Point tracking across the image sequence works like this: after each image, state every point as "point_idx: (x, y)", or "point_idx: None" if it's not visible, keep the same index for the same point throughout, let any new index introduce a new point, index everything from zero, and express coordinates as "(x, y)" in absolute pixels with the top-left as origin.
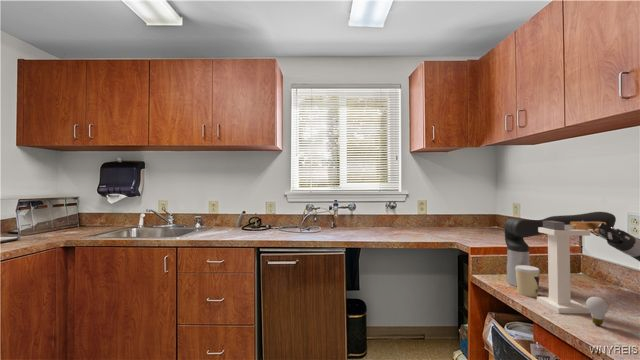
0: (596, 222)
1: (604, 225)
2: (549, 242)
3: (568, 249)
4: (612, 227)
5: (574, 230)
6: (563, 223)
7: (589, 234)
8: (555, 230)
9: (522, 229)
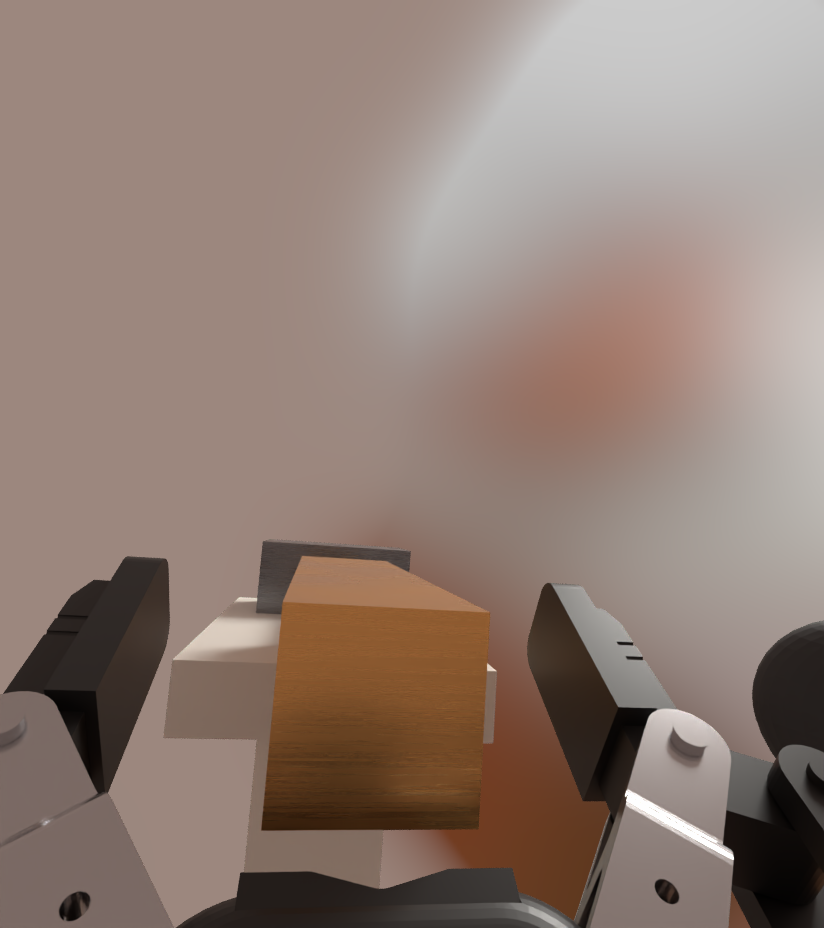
0: (296, 577)
1: (86, 602)
2: None
3: (248, 838)
4: (7, 705)
5: (217, 623)
6: (262, 549)
7: (168, 716)
8: (240, 598)
9: (776, 710)
